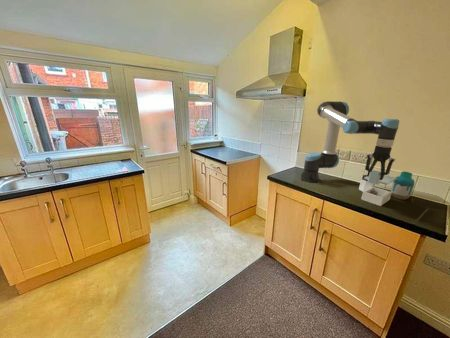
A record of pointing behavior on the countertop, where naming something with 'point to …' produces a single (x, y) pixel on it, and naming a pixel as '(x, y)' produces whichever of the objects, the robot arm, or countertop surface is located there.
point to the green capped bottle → (402, 186)
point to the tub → (376, 196)
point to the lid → (384, 181)
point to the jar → (365, 184)
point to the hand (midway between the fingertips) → (373, 182)
